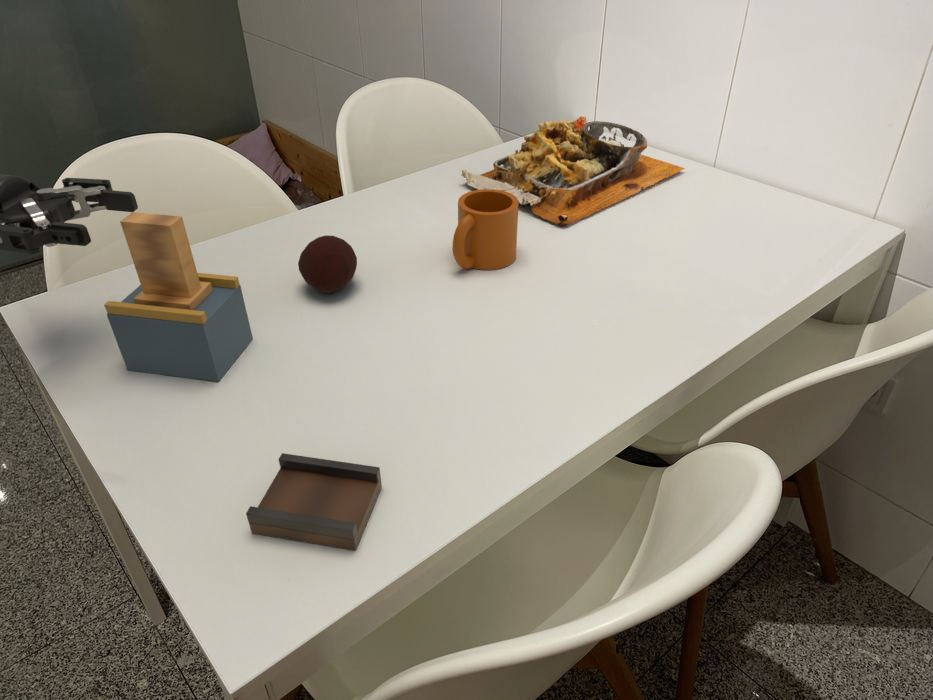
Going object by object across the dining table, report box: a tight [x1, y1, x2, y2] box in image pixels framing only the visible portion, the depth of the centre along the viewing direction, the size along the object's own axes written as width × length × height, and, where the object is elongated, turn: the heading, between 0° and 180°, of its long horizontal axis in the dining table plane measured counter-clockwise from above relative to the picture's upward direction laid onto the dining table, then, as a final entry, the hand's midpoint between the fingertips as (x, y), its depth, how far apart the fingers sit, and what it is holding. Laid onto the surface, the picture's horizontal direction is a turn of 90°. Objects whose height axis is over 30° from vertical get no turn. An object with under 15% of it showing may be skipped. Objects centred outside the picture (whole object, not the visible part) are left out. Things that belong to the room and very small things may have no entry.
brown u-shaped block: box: [245, 452, 383, 551], centre depth 65 cm, size 10×8×3 cm
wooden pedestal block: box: [119, 211, 213, 310], centre depth 79 cm, size 7×5×10 cm
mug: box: [452, 189, 520, 271], centre depth 102 cm, size 9×12×9 cm
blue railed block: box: [104, 272, 254, 383], centre depth 84 cm, size 12×9×9 cm
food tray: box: [461, 115, 687, 227], centre depth 127 cm, size 35×26×11 cm
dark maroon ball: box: [297, 235, 358, 294], centre depth 97 cm, size 8×9×8 cm
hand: (111, 218), depth 77 cm, fingers open, 8 cm apart
